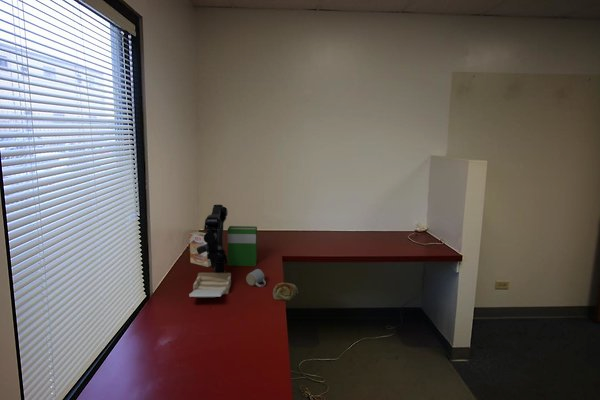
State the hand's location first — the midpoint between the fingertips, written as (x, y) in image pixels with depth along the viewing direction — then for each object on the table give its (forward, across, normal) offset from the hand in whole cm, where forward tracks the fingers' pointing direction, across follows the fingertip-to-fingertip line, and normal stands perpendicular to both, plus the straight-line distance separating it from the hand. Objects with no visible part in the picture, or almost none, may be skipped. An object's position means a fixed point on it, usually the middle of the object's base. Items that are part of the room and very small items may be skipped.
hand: (212, 268), depth 198 cm
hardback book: (+7, -34, +20) cm, 40 cm away
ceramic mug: (+11, -1, +24) cm, 27 cm away
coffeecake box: (+7, -40, -5) cm, 41 cm away
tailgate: (+10, +8, -2) cm, 13 cm away
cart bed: (+11, 0, 0) cm, 11 cm away
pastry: (+13, +17, +37) cm, 42 cm away
